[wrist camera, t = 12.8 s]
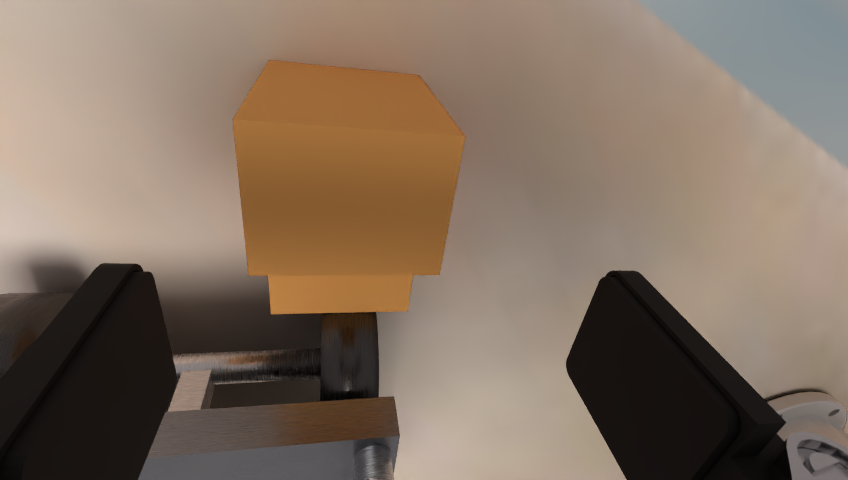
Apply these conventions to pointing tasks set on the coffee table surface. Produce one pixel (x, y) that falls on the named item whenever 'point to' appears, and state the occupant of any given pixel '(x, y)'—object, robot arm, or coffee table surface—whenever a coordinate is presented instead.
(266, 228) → the block
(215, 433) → the trolley
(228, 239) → the coffee table surface
